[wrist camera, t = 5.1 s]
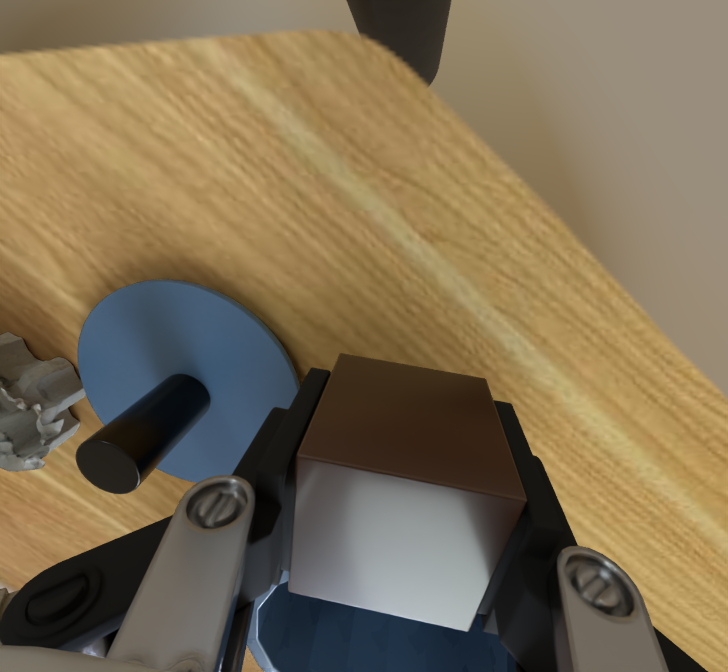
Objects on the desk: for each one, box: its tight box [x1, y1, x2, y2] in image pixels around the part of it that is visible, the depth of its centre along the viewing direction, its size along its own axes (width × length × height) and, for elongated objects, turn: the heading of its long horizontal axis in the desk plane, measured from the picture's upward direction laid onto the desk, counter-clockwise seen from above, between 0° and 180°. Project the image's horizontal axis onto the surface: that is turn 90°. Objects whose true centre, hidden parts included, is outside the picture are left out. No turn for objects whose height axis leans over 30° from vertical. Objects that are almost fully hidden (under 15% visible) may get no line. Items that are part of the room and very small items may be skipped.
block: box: [288, 353, 527, 631], centre depth 9 cm, size 4×4×4 cm
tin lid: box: [76, 279, 300, 494], centre depth 19 cm, size 14×14×7 cm
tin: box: [247, 571, 508, 672], centre depth 20 cm, size 13×13×8 cm
